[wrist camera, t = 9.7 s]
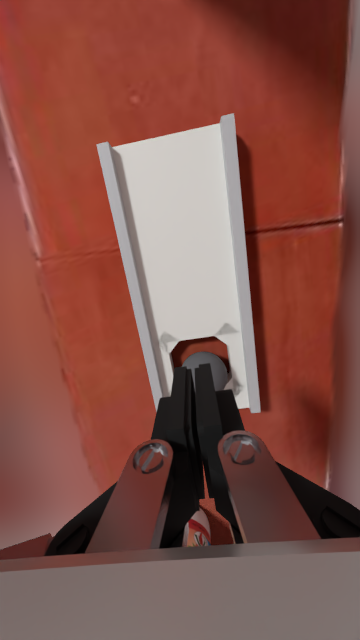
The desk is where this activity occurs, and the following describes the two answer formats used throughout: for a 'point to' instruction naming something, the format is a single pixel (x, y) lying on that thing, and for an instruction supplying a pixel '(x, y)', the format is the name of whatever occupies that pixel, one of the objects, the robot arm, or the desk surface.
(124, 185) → the tray
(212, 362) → the ball
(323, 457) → the desk surface
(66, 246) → the desk surface
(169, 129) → the desk surface
